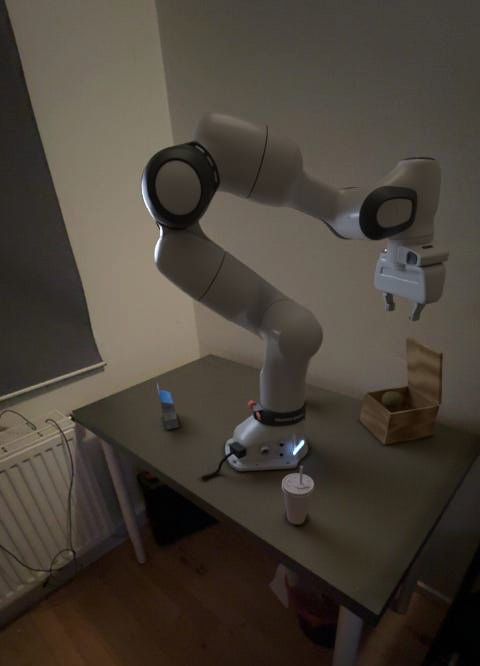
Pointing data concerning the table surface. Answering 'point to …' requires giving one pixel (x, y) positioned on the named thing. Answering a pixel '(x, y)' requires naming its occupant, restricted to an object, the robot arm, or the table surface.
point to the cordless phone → (168, 409)
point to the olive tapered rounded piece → (392, 401)
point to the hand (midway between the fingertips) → (401, 315)
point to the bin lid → (424, 369)
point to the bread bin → (399, 416)
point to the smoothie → (297, 495)
